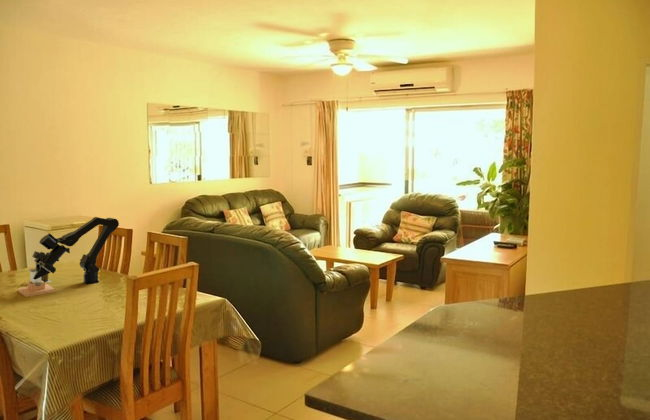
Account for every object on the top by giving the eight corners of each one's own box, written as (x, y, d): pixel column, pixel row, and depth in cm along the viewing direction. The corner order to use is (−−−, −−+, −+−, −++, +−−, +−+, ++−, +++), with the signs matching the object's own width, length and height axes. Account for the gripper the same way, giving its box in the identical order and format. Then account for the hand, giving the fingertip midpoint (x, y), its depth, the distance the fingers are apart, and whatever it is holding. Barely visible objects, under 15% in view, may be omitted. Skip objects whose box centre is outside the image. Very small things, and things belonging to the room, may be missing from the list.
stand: (47, 286, 273) (46, 277, 273) (55, 291, 263) (54, 282, 263) (18, 291, 263) (17, 281, 263) (25, 296, 253) (24, 287, 253)
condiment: (48, 279, 289) (47, 258, 287) (51, 282, 282) (50, 261, 281) (33, 280, 284) (32, 260, 283) (36, 284, 278) (35, 262, 276)
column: (40, 286, 266) (39, 267, 265) (42, 288, 263) (41, 269, 262) (30, 288, 263) (29, 269, 262) (32, 289, 260) (31, 270, 259)
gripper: (37, 242, 270) (15, 266, 264) (48, 248, 256) (24, 272, 250) (54, 255, 276) (33, 278, 270) (65, 261, 263) (43, 285, 257)
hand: (33, 278), depth 262 cm, fingers closed on column, 4 cm apart
